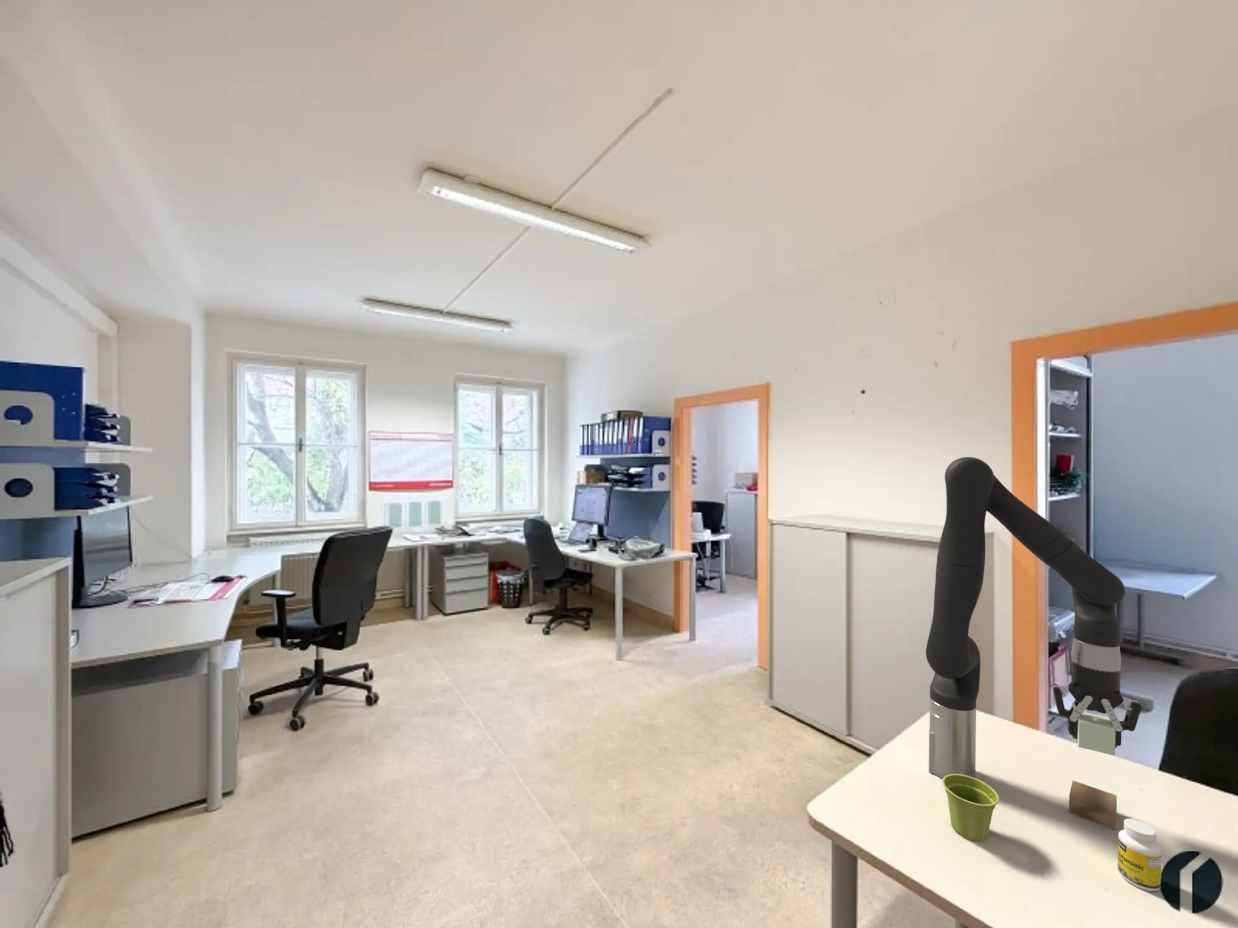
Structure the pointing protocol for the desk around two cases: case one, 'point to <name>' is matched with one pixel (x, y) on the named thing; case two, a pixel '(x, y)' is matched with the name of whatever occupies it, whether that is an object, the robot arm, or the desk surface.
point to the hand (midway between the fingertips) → (1093, 740)
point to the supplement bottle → (1139, 855)
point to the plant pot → (970, 805)
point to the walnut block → (1093, 804)
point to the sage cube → (1096, 733)
